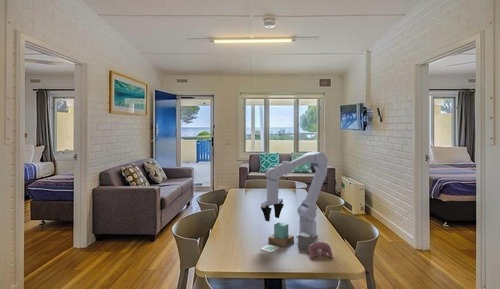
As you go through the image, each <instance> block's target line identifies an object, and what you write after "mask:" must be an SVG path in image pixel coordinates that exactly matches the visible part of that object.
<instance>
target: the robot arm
mask: <svg viewBox="0 0 500 289" xmlns="http://www.w3.org/2000/svg"><path fill="white" fill-rule="evenodd" d="M328 162H329V158H328V156H327V155H326V153H324V152H323V151H320V152H319V151H315V150H312V151H310V152H305V153H304V154H303V155H300V156H299V157H297V158H294V159H293V160H291V161H288V160H286V161H285V160H282V161H281V163H279V164H277V165H276V164H275V165H273V167H268V168H267V169H266V171H265V173H264V176H265V177H266V200H265V201H263V202H262V203H261V205H260V210H261V211H262V213H263V217H264V220H265V222H270V221H271V212H272V210H273V209H274V217H275V218H276V219H279V218H280V215H281V212H282V210H283V208H284V206H285V204H284V199H283V198H279V179H280V178H281V177H283V176H284V175H287V174H290V173H291V172H292V171H293V169H294V168H297V167H298V166H301V165H304V164H306V163H309V164H311V166H313V168H314V170H315V173H314V175H313V178H312V181H311V183H310V186H309V189H308V192H307V194H306V197H305V199H304V200H302V202H301V204H300V205H299V206H298V208H297V214H298V216H299V234H301V233H302V232H305V233H310V234H313V239H314V238H316V237H317V236H318V235H319V234H318V233H317V221H316V217H317V210H318V206H317V201H318V198H319V195H320V193H321V191H322V190H321V189H322V187H323V185H324V181H325V180H326V177H327V176H326V175H327V173H328ZM271 206H273V209H272V207H271ZM299 234H297V235H296V237H297V238H298V235H299Z"/></svg>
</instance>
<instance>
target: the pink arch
mask: <svg viewBox="0 0 500 289" xmlns="http://www.w3.org/2000/svg"><path fill="white" fill-rule="evenodd" d="M319 250H321V251H320V252H319ZM308 253H309V257H310V259H312V260H313V258H314V256H315V257H317V256H319V255H321V256H323V257H325V256H326V255H327V254H328V256H329V258H330V259H332V258H333V251H332V249H331V246H330V245H329V243H327V242H321V241H317V242H316V241H315V242H313V243H312V244H310V245H309V249H308Z"/></svg>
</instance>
